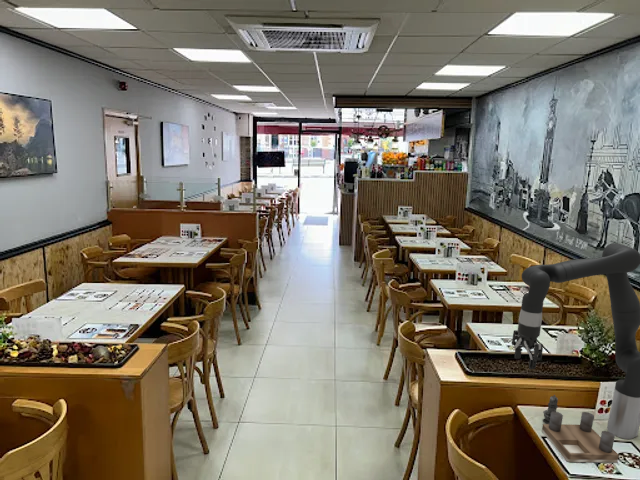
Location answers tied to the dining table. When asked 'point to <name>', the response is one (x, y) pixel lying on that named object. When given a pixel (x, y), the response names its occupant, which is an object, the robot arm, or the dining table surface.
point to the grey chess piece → (550, 409)
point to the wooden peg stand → (580, 440)
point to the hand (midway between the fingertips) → (524, 363)
